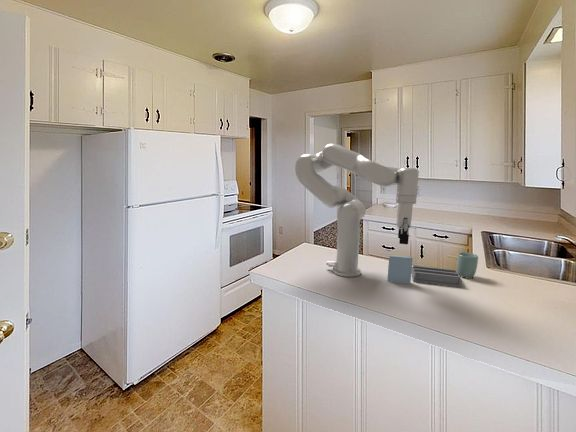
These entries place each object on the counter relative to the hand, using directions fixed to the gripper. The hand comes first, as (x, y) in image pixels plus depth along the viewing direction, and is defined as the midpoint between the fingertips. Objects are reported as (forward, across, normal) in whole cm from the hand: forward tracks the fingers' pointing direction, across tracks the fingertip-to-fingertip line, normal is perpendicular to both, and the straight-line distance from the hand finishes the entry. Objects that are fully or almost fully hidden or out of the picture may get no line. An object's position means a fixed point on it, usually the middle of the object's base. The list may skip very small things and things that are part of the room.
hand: (402, 240), depth 127 cm
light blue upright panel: (+18, 0, 0) cm, 18 cm away
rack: (+18, -8, +15) cm, 24 cm away
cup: (+18, -17, +29) cm, 38 cm away
